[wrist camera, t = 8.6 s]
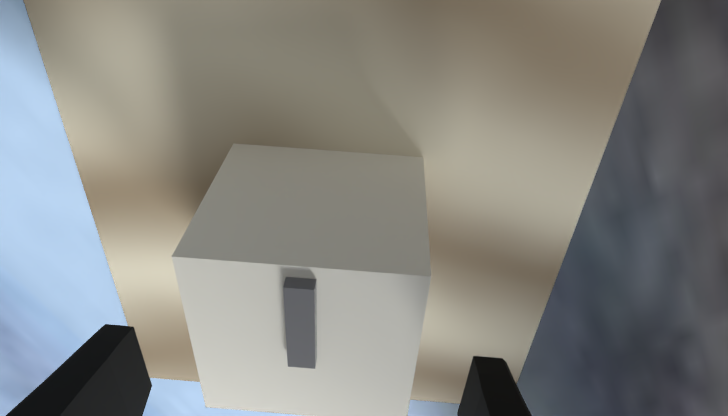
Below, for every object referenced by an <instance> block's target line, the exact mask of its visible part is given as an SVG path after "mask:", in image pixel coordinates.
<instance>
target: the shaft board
mask: <svg viewBox="0 0 728 416" xmlns="http://www.w3.org/2000/svg"><path fill="white" fill-rule="evenodd" d="M660 2H661V0H24V4H25V7H26V10H27V13H28V16H29V19H30V22H31V25H32V28H33V31H34V35H35V38H36V41H37V44H38V47H39V50H40V53H41V56H42V59H43V63H44V66H45V69H46V72H47V75H48V78H49V81H50V84H51V87H52V91H53V94H54V97H55V100H56V103H57V106H58V109H59V112H60V115H61V118H62V122H63V125H64V128H65V131H66V134H67V137H68V140H69V143H70V146H71V150H72V153H73V156H74V159H75V162H76V165H77V168H78V171H79V174H80V177H81V181H82V184H83V187H84V190H85V193H86V196H87V199H88V202H89V205H90V209H91V212H92V215H93V218H94V221H95V224H96V227H97V230H98V233H99V237H100V240H101V243H102V246H103V249H104V252H105V255H106V258H107V261H108V264H109V268H110V271H111V274H112V277H113V280H114V283H115V286H116V289H117V292H118V296H119V299H120V302H121V305H122V308H123V311H124V314H125V317H126V320H127V324H128V326H131V327H134V329H135V332H136V336H137V339H138V342H139V345H140V349H141V352H142V355H143V358H144V362H145V365H146V368H147V371H148V374H149V378H161V379H172V380H184V381H196V382H200V379H199V375H198V371H197V366H196V362H195V357H194V353H193V349H192V344H191V340H190V335H189V331H188V327H187V322H186V318H185V313H184V309H183V305H182V300H181V296H180V291H179V287H178V283H177V278H176V274H175V270H174V265H173V261H172V255H173V253H174V251H175V249H176V247H177V246H178V244H179V242H180V240H181V238H182V236H183V235H184V233H185V231H186V229H187V227H188V226H189V224H190V222H191V220H192V218H193V216H194V215H195V213H196V211H197V209H198V207H199V205H200V204H201V202H202V200H203V198H204V196H205V194H206V193H207V191H208V189H209V187H210V185H211V184H212V182H213V180H214V178H215V176H216V174H217V173H218V171H219V169H220V167H221V165H222V163H223V162H224V160H225V158H226V156H227V154H228V152H229V151H230V149H231V147H232V145H233V143H235V144H249V145H262V146H276V147H290V148H304V149H317V150H331V151H345V152H359V153H372V154H386V155H400V156H414V157H423V160H424V175H425V190H426V205H427V220H428V235H429V249H430V264H431V281H430V287H429V293H428V299H427V304H426V310H425V316H424V322H423V328H422V333H421V339H420V345H419V351H418V356H417V362H416V368H415V374H414V380H413V385H412V391H411V397H410V400H421V401H433V402H445V403H457V404H460V402H461V399H462V395H463V391H464V388H465V384H466V381H467V377H468V373H469V370H470V366H471V363H472V359H473V356H482V357H494V358H503V359H504V360H505V361H506V362H507V365H508V367H509V369H510V372H511V374H512V376H513V378H514V380H515V383H516V384H517V381H518V379H519V376H520V373H521V371H522V368H523V365H524V363H525V360H526V357H527V355H528V352H529V349H530V347H531V344H532V341H533V339H534V336H535V334H536V331H537V328H538V326H539V323H540V320H541V318H542V315H543V312H544V310H545V307H546V304H547V302H548V299H549V296H550V294H551V291H552V288H553V286H554V283H555V280H556V278H557V275H558V272H559V270H560V267H561V264H562V262H563V259H564V257H565V254H566V251H567V249H568V246H569V243H570V241H571V238H572V235H573V233H574V230H575V227H576V225H577V222H578V219H579V217H580V214H581V211H582V209H583V206H584V203H585V201H586V198H587V195H588V193H589V190H590V187H591V185H592V182H593V179H594V177H595V174H596V172H597V169H598V166H599V164H600V161H601V158H602V156H603V153H604V150H605V148H606V145H607V142H608V140H609V137H610V134H611V132H612V129H613V126H614V124H615V121H616V118H617V116H618V113H619V110H620V108H621V105H622V102H623V100H624V97H625V95H626V92H627V89H628V87H629V84H630V81H631V79H632V76H633V73H634V71H635V68H636V65H637V63H638V60H639V57H640V55H641V52H642V49H643V47H644V44H645V41H646V39H647V36H648V33H649V31H650V28H651V25H652V23H653V20H654V18H655V15H656V12H657V10H658V7H659V4H660Z"/></svg>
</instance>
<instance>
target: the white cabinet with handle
mask: <svg viewBox="0 0 728 416" xmlns="http://www.w3.org/2000/svg"><path fill="white" fill-rule="evenodd" d="M172 261H173V265H174V270H175V274H176V278H177V283H178V287H179V291H180V296H181V300H182V305H183V309H184V313H185V318H186V322H187V327H188V331H189V335H190V340H191V344H192V349H193V353H194V357H195V362H196V366H197V371H198V375H199V379H200V384H201V388H202V393H203V397H204V401H205V406H206V407H210V408H222V409H235V410H247V411H259V412H271V413H283V414H295V415H307V416H407V414H408V408H409V403H410V397H411V391H412V385H413V380H414V374H415V368H416V362H417V356H418V351H419V345H420V339H421V333H422V328H423V322H424V316H425V310H426V304H427V299H428V293H429V287H430V281H431V264H430V249H429V235H428V220H427V205H426V190H425V175H424V160H423V157H414V156H400V155H386V154H372V153H359V152H345V151H331V150H317V149H304V148H290V147H276V146H262V145H249V144H235V143H233V145H232V147H231V149H230V151H229V152H228V154H227V156H226V158H225V160H224V162H223V163H222V165H221V167H220V169H219V171H218V173H217V174H216V176H215V178H214V180H213V182H212V184H211V185H210V187H209V189H208V191H207V193H206V194H205V196H204V198H203V200H202V202H201V204H200V205H199V207H198V209H197V211H196V213H195V215H194V216H193V218H192V220H191V222H190V224H189V226H188V227H187V229H186V231H185V233H184V235H183V236H182V238H181V240H180V242H179V244H178V246H177V247H176V249H175V251H174V253H173V255H172Z"/></svg>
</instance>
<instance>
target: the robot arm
mask: <svg viewBox="0 0 728 416" xmlns="http://www.w3.org/2000/svg"><path fill="white" fill-rule="evenodd" d="M151 387H152V384H151V381H150V378H149V374H148V371H147V368H146V365H145V362H144V358H143V355H142V352H141V349H140V345H139V342H138V339H137V336H136V332H135V329H134V327H131V326H120V325H108V324H105V325H104V326H103V327H102V328H101V329H99V330H98V331H97V332H96V333H95V334H94V335H93V336H92V337H91V338H90V339H89V340H88V341H86V342H85V343H84V344H83V345H82V346H81V347H80V348H79V349H78V350H77V351H76V352H75V353H74V354H73V355H72V356H71V357H69V358H68V359H67V360H66V361H65V362H64V363H63V364H62V365H61V366H60V367H59V368H58V369H57V370H56V371H54V372H53V373H52V374H51V375H50V376H49V377H48V378H47V379H46V380H45V381H44V382H43V383H42V384H40V385H39V386H38V387H37V388H36V389H35V390H34V391H33V392H32V393H30V394H29V395H28V396H27V397H26V398H25V399H24V400H23V401H22V402H20V403H19V404H18V405H17V406H16V407H15V408H14V409H13V410H12V411H10V412H9V413H8V414H7V415H6V416H142V414H143V412H144V409H145V405H146V402H147V399H148V396H149V393H150V390H151ZM458 416H531V414H530V412H529V410H528V408H527V406H526V404H525V402H524V400H523V398H522V395H521V393H520V391H519V389H518V387H517V385H516V383H515V380H514V378H513V376H512V374H511V372H510V369H509V367H508V365H507V362H506V361H505V360H504V359H503V358H494V357H482V356H473V359H472V363H471V366H470V370H469V373H468V377H467V381H466V384H465V388H464V391H463V395H462V399H461V402H460V406H459V409H458Z"/></svg>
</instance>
